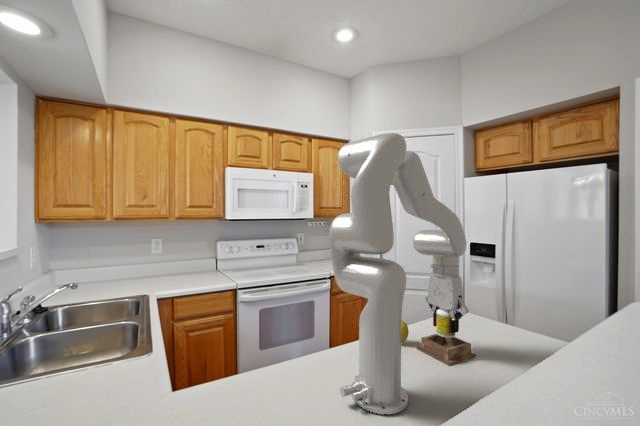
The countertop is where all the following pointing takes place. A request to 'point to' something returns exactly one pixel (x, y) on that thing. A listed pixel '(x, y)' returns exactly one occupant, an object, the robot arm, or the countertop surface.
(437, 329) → the supplement bottle
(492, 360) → the countertop surface
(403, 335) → the lemon
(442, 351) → the brown square bottle holder
